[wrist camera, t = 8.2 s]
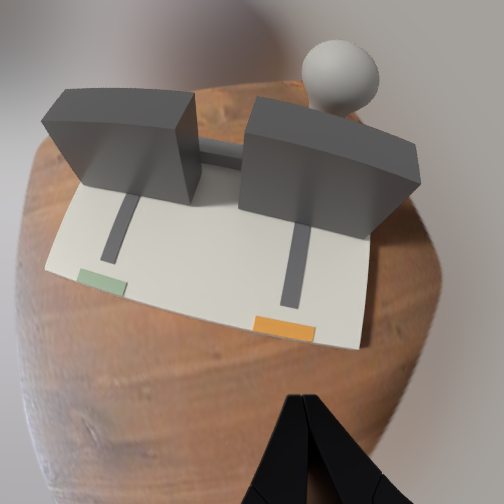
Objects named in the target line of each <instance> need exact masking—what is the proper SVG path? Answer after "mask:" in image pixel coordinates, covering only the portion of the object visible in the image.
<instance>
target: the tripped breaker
mask: <svg viewBox="0 0 504 504" xmlns="http://www.w3.org/2000/svg"><path fill="white" fill-rule="evenodd" d="M420 185H421V179H420V172H419V165H418V158H417V152H416V147H415V144H413V143H411V142H409V141H406V140H404V139H401V138H399V137H396V136H394V135H391V134H389V133H386V132H383V131H380V130H378V129H375V128H372V127H369V126H367V125H364V124H361V123H358V122H355V121H352V120H349V119H345V118H342V117H339V116H336V115H332V114H329V113H325V112H322V111H318V110H315V109H311V108H307V107H303V106H299V105H295V104H291V103H287V102H282V101H278V100H273V99H269V98H264V97H259V96H257V97H256V100H255V103H254V106H253V109H252V112H251V115H250V118H249V121H248V124H247V127H246V130H245V134H244V145H243V156H242V167H241V179H240V190H239V202H238V209H241V210H245V211H250V212H254V213H258V214H263V215H267V216H271V217H276V218H280V219H284V220H288V221H293V222H297V223H301V224H305V225H309V226H313V227H317V228H321V229H325V230H329V231H333V232H337V233H341V234H344V235H348V236H352V237H356V238H360V239H363V240H364V239H365V238H366V237H367V236H368V235H369V234H370V233H371V232H372V231H373V230H374V229H376V228H377V227H378V226H379V225H380V224H381V223H382V222H383V221H384V220H385V219H386V218H387V217H388V216H389V215H390V214H391V213H392V212H393V211H394V210H396V209H397V208H398V207H399V206H400V205H401V204H402V203H403V202H404V201H405V200H406V199H407V198H408V197H409V196H410V195H411V194H412V193H413V192H414V191H415V190H416V189H417V188H418V187H419V186H420Z"/></svg>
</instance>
